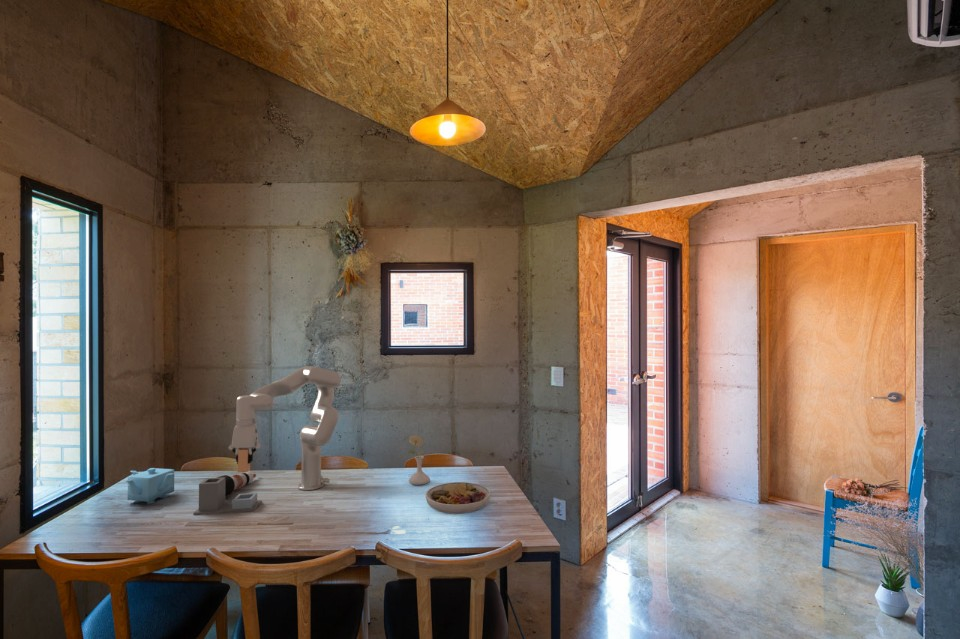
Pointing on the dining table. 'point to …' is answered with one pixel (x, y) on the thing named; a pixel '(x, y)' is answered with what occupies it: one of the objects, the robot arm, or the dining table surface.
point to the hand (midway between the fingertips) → (244, 462)
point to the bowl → (457, 497)
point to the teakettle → (150, 484)
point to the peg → (243, 460)
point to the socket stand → (223, 499)
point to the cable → (237, 481)
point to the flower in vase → (418, 463)
